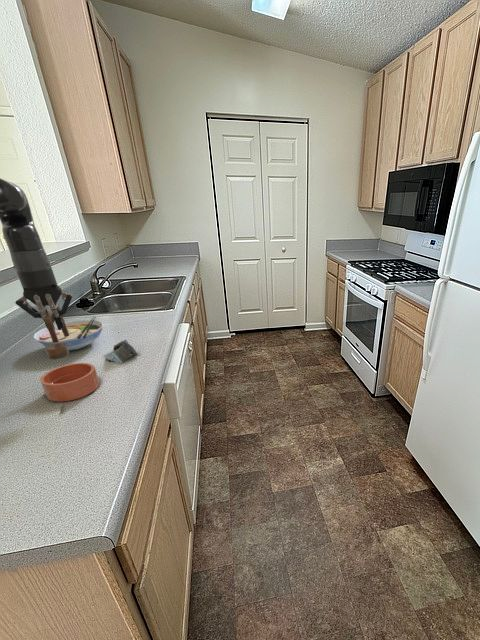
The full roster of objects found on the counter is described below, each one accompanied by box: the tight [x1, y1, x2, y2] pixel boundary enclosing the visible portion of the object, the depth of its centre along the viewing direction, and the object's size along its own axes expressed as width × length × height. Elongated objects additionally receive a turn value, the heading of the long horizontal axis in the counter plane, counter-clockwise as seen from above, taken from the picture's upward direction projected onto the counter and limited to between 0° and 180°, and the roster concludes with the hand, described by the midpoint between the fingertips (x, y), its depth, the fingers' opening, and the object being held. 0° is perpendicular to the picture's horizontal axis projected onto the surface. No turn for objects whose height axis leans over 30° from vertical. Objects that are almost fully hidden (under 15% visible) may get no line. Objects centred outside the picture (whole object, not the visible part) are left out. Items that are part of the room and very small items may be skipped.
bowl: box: [39, 362, 100, 403], centre depth 99 cm, size 14×14×6 cm
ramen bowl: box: [33, 316, 104, 352], centre depth 128 cm, size 25×23×8 cm
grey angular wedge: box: [105, 339, 138, 365], centre depth 119 cm, size 10×7×12 cm
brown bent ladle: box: [43, 303, 70, 360], centre depth 94 cm, size 18×5×10 cm, turn 25°
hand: (56, 329), depth 94 cm, fingers closed on brown bent ladle, 1 cm apart
